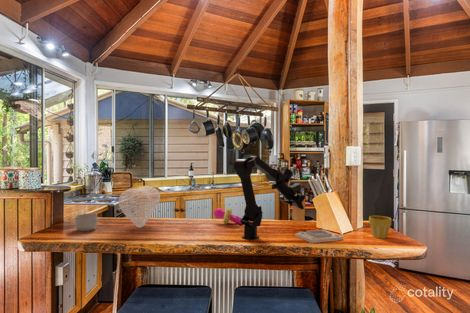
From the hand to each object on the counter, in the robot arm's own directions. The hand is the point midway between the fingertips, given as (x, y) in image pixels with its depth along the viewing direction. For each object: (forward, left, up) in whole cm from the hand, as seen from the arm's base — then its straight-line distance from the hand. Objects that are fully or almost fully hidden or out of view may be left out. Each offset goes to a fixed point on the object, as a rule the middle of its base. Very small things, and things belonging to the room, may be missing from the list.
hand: (300, 208), depth 174 cm
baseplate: (-11, -16, -11) cm, 22 cm away
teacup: (-78, +86, -12) cm, 116 cm away
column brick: (-1, +1, -7) cm, 7 cm away
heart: (-57, +68, -11) cm, 89 cm away
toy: (-18, +38, -11) cm, 43 cm away
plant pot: (+11, -38, -11) cm, 42 cm away
